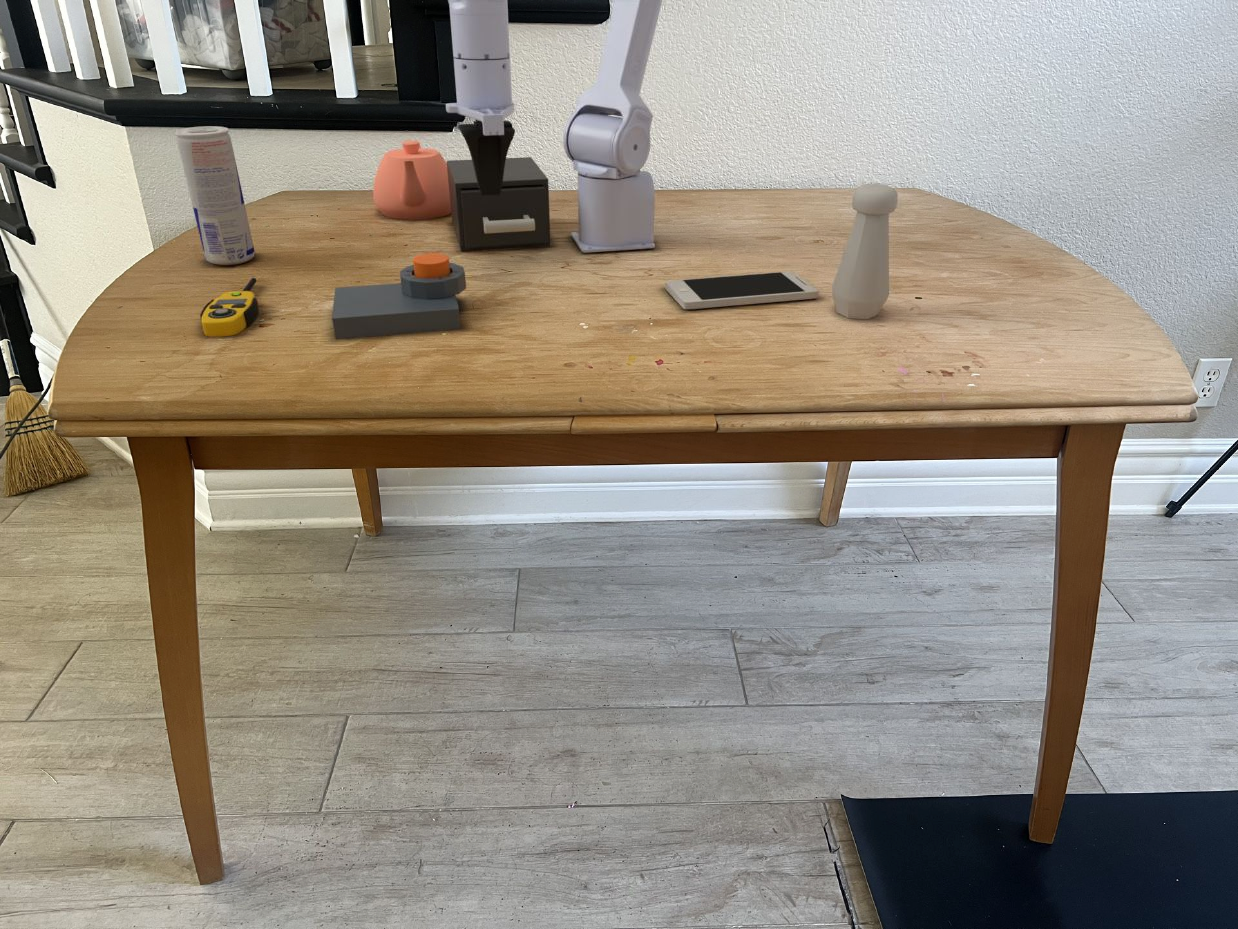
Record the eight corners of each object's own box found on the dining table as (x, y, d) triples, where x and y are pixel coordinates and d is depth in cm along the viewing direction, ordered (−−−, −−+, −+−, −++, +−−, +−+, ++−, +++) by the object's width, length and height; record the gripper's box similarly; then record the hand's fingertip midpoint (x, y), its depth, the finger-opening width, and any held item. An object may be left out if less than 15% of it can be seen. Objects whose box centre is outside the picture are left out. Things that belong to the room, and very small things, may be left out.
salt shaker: (886, 324, 87) (909, 195, 81) (829, 320, 88) (847, 191, 82) (882, 305, 92) (904, 181, 85) (828, 300, 93) (846, 178, 86)
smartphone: (664, 287, 96) (664, 279, 95) (791, 277, 99) (792, 269, 99) (684, 310, 90) (684, 301, 90) (818, 298, 93) (819, 290, 93)
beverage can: (266, 256, 105) (239, 127, 97) (230, 269, 100) (199, 135, 93) (232, 250, 107) (203, 123, 99) (195, 263, 102) (162, 130, 95)
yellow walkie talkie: (188, 320, 82) (229, 269, 94) (193, 339, 83) (233, 286, 95) (241, 318, 82) (275, 268, 95) (246, 337, 83) (278, 285, 96)
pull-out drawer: (553, 252, 104) (551, 196, 101) (469, 258, 102) (464, 201, 99) (531, 217, 118) (529, 167, 115) (457, 221, 116) (452, 170, 113)
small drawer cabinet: (550, 246, 110) (548, 178, 105) (460, 252, 107) (454, 183, 103) (533, 219, 121) (531, 156, 116) (452, 223, 118) (446, 160, 114)
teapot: (461, 195, 132) (455, 130, 127) (459, 227, 116) (452, 155, 112) (380, 197, 130) (372, 131, 125) (368, 230, 115) (357, 156, 110)
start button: (448, 268, 90) (447, 252, 89) (451, 279, 87) (450, 262, 86) (414, 270, 89) (412, 254, 88) (415, 281, 86) (413, 264, 86)
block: (464, 295, 94) (461, 259, 91) (473, 328, 85) (470, 289, 83) (338, 305, 91) (332, 268, 89) (335, 340, 83) (328, 300, 81)
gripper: (437, 51, 92) (448, 180, 99) (447, 65, 80) (459, 212, 87) (502, 50, 94) (509, 178, 101) (522, 64, 82) (528, 208, 89)
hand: (490, 193), depth 94 cm, fingers closed
